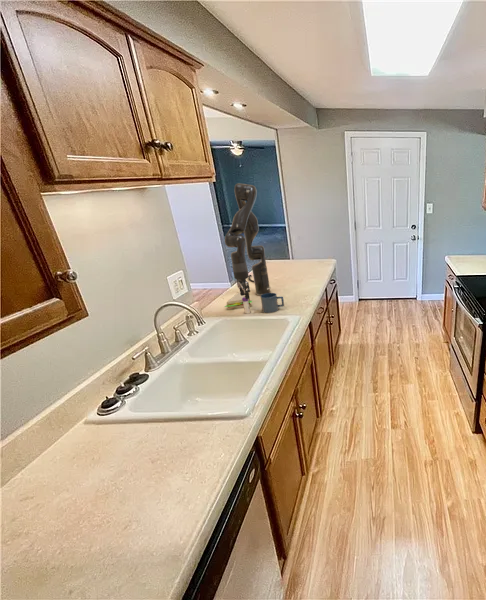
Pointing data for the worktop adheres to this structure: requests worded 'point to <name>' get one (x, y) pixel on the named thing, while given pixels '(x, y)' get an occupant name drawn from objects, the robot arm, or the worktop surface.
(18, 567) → the worktop surface
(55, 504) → the worktop surface
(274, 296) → the mug
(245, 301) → the glue stick
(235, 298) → the sandwich
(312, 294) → the worktop surface
